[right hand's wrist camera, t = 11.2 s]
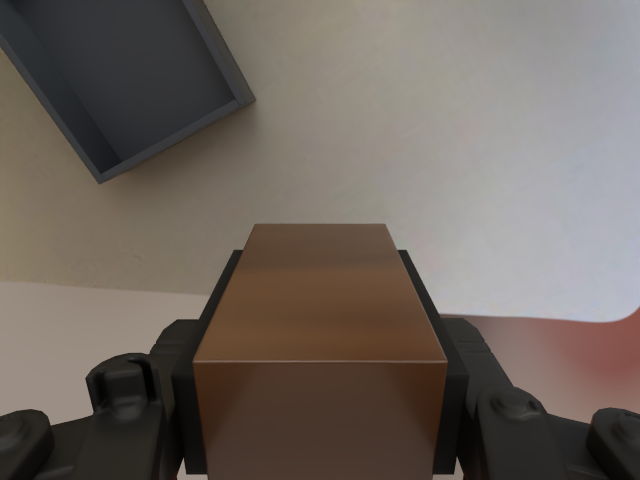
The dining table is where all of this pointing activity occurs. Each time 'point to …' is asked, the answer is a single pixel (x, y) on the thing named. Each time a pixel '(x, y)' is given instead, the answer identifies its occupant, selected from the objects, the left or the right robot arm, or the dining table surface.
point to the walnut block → (320, 361)
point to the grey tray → (123, 73)
